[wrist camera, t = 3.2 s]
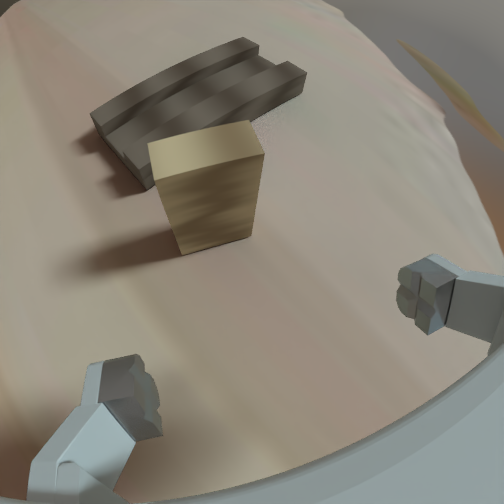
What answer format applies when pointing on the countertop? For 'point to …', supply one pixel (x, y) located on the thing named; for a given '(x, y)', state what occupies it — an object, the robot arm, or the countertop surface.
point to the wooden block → (209, 183)
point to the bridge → (194, 100)
